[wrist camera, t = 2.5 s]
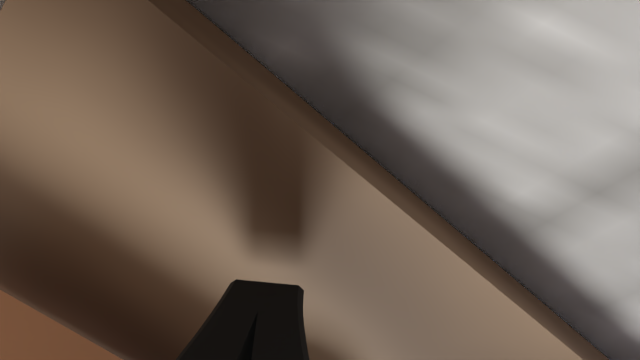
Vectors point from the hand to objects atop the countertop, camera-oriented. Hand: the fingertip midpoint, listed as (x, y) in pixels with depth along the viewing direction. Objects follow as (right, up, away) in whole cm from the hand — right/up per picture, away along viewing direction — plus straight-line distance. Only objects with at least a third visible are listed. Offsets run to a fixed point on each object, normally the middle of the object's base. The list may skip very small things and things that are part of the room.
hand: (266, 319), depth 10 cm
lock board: (0, -4, +6) cm, 7 cm away
